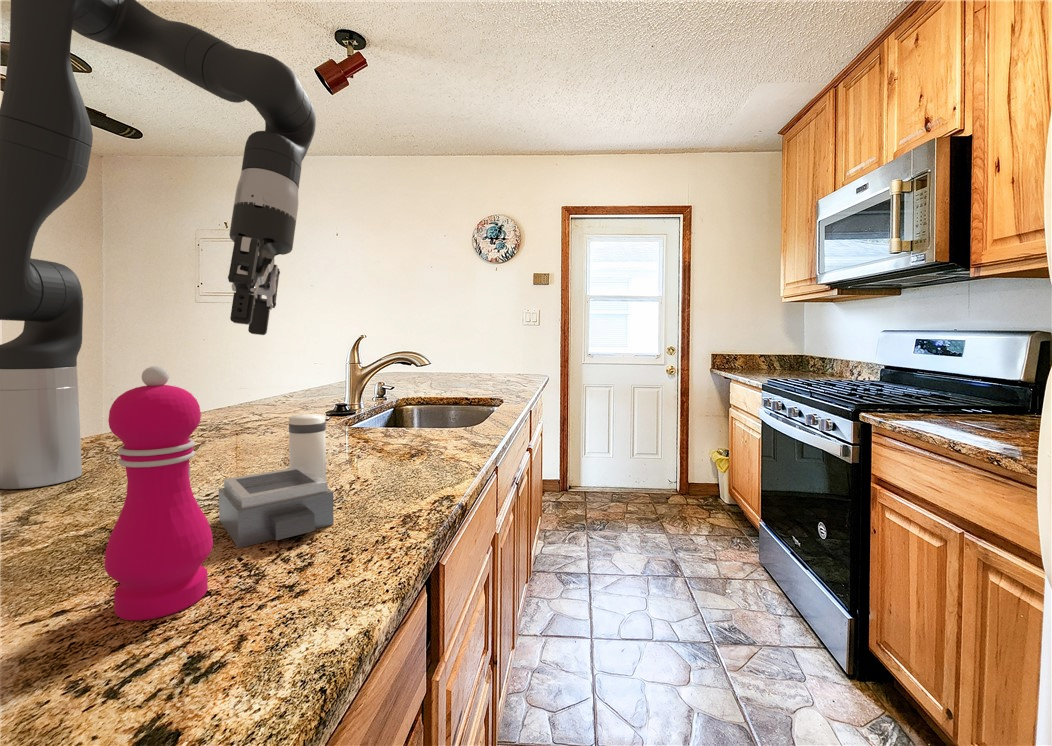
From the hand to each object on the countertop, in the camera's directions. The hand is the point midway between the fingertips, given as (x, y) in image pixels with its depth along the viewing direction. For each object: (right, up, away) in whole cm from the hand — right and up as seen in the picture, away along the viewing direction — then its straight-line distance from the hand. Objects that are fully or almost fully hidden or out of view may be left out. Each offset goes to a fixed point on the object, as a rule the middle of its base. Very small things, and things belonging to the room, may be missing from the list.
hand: (249, 329), depth 62 cm
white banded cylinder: (+5, -23, +7) cm, 25 cm away
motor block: (+7, -24, -6) cm, 26 cm away
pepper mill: (+6, -25, -22) cm, 34 cm away
